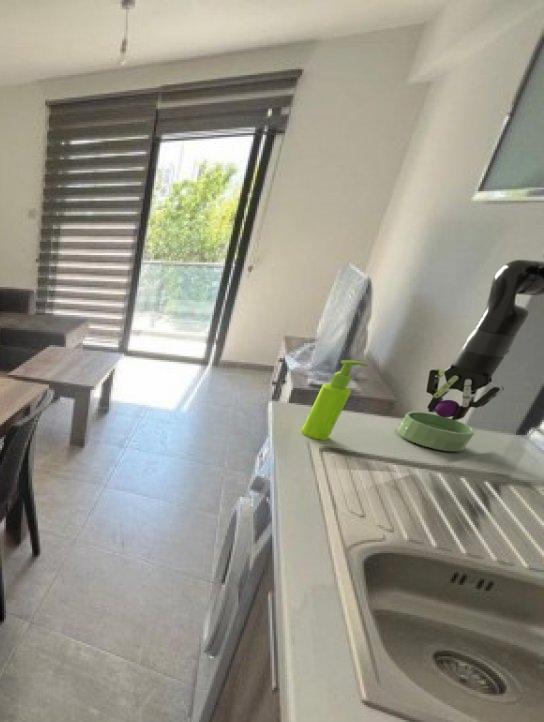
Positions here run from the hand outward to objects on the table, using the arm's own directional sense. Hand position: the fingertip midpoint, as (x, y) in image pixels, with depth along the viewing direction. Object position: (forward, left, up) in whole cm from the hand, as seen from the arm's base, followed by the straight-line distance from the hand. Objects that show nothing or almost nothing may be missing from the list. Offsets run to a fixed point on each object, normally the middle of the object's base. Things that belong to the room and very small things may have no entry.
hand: (443, 415), depth 122 cm
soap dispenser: (+12, +27, -8) cm, 30 cm away
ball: (0, 0, +2) cm, 2 cm away
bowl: (0, 0, -7) cm, 7 cm away
